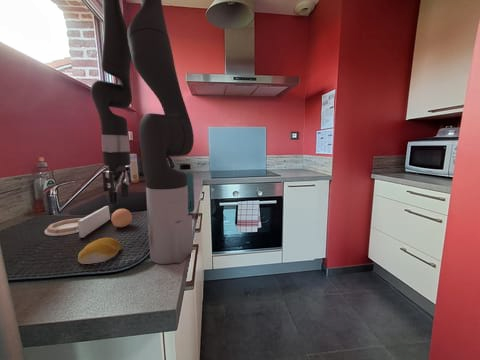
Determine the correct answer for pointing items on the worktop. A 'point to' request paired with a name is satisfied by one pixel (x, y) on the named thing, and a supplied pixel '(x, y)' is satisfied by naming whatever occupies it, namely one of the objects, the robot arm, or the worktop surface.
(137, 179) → the cracker box
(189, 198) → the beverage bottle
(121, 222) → the ball
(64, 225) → the saucer
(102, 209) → the wall
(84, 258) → the bread roll
